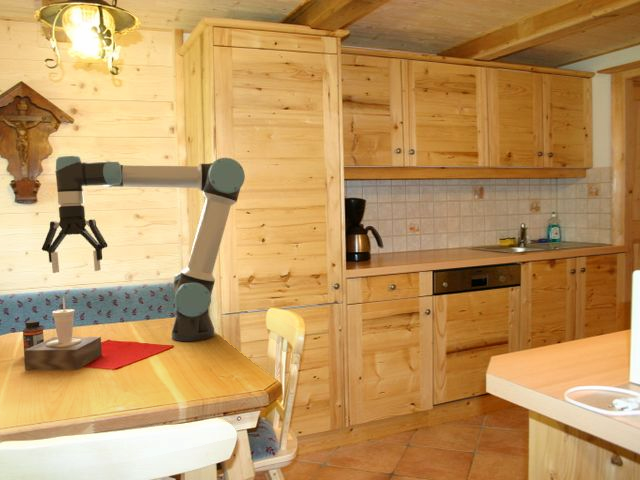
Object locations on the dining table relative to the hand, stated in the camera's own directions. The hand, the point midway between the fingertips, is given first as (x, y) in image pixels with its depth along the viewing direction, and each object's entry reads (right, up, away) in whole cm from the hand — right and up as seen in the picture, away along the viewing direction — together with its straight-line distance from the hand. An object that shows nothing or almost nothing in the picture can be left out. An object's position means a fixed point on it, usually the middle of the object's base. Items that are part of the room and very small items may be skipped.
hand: (76, 271), depth 183 cm
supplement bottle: (-15, -28, +3) cm, 32 cm away
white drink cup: (-1, -22, -7) cm, 23 cm away
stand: (-1, -28, -6) cm, 29 cm away
